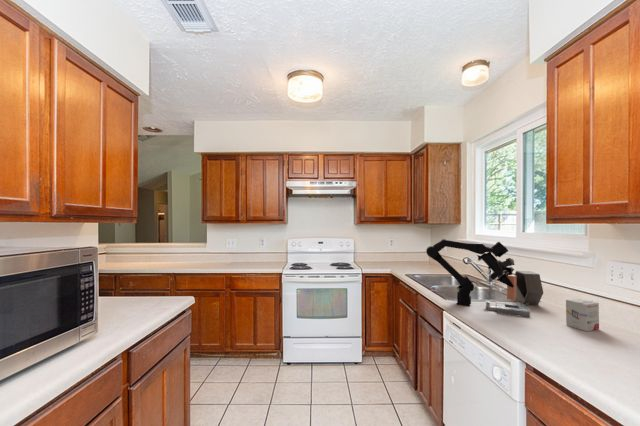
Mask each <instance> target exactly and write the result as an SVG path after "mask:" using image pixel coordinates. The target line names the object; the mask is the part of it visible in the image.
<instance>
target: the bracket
mask: <svg viewBox="0 0 640 426" xmlns="http://www.w3.org/2000/svg"><path fill="white" fill-rule="evenodd" d="M490 302H491V301H489V300H485V304H486V305H485V310H486V309H487V311H493V310H494V311H495V312H497V307H496V305H495V306H493V305H491V303H490Z"/></svg>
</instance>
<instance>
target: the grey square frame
mask: <svg viewBox="0 0 640 426" xmlns="http://www.w3.org/2000/svg"><path fill="white" fill-rule="evenodd" d="M495 307H497V311H496V313H497V314H501V313H502V315H503V314H504V315H511V316H517V317H527V318H530V316H531V312H530V310H529V308H528V306H527V304H522V303H513V302H512V303H511V302H503V301H495Z"/></svg>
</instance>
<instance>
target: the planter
mask: <svg viewBox="0 0 640 426" xmlns="http://www.w3.org/2000/svg"><path fill="white" fill-rule="evenodd" d="M514 275H516V276H517V286H516V299H515V300H514V301H517V302H519V304H522V305H530V306H531V305H533V306H534V305H535V306H538V305H539V304H540V302H541V299H542V297H543V295H544V289H543V288H544V287H543V285H542V280H541V276H540V273H537V272H534V271H529V270H515V273H514Z"/></svg>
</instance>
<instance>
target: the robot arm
mask: <svg viewBox="0 0 640 426" xmlns="http://www.w3.org/2000/svg"><path fill="white" fill-rule="evenodd" d="M446 247H447V248H452V249H453V248H454V249H459V250H465V251H469V252H471V253H475V254H479V255H477V261H478V262H480V261H483V262H484V263H485V264H486V266H487V268H488V269H489V270H491V271H492V273H491V274H490V276H489V278H490V279H491V280H492V281H495V280H496V281H497V282H500V283H503V285H506V286H507V285H508V286H510V287H512V288H513V287H514V285H513V284H512V282H511V281H510V280H509V278H508V277H507V276H508V275H513V273H514V271H515V269H514V267H512V266H515V265H516V264H515V260H514V259H513V258H510V257H508V258H506V259H505V260H504V261H501V260H498V259H497V257H498V258H501V257H502V256H504V255H505V254H506V253H508V252H509V250H508V248H507V247H506V246H505V245H503V244H502V243H501V242H500V241H497V242H496V243H495V244H494V245H492V246H485V244H484V243H480V242H462V241H454V240H448V239H446V238H444V239H441V240H440V241H439V242H436V243H435V244H433V245H429V246H428V247H426V249H425V252H426V255H427V256H428V257H429V258H431V259H432V260H434V261H436V262H437V263H438V264H439V265H440V266H442V268H444V269H445V270H446V271H447V272H448V274H450V275H451V276H452V277H453V278H454V279H455V280H456V281H457V282H458V284H459V285H458V286H457V287H456V289H457V293H456V297H457V299H456V306H457V305H459V306H467V307H470V305H471V304H472V296H471V295H470V294H471V292H473V290H474V289H475V285H474V282H473V281H472V279H470V278H469V277H468V276H467V275H466V274H465V275H462V274H461V273H460V272H459V271H457V270H456V269H455V268H454V267H453V266H452V265H451V264H450V262H448V261H447V260H446V259H445V258H444V257H443V256H442V255H441V253H440V251H442V250H443V249H444V248H446ZM516 286H517V284H516Z"/></svg>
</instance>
